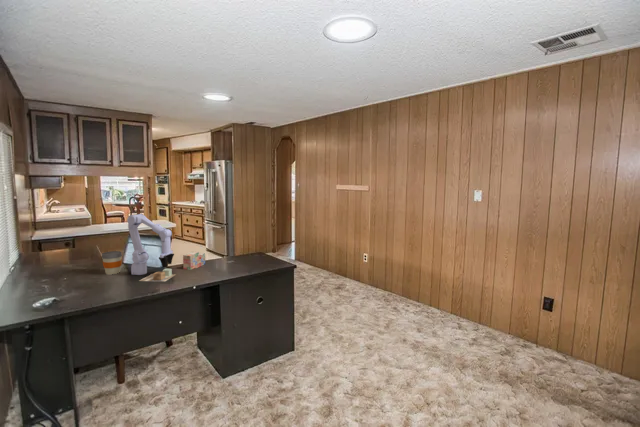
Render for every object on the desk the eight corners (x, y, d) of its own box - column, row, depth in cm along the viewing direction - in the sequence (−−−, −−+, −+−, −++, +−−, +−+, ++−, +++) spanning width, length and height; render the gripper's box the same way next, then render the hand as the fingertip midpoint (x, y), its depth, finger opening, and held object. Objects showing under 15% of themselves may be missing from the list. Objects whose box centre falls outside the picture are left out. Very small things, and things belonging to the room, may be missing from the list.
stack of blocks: (198, 263, 266) (198, 249, 264) (205, 264, 265) (205, 249, 263) (183, 270, 245) (182, 255, 243) (190, 271, 244) (190, 255, 242)
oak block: (153, 280, 217) (153, 273, 217) (157, 277, 222) (157, 271, 222) (161, 280, 217) (161, 274, 217) (165, 278, 222) (164, 271, 222)
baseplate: (138, 282, 216) (138, 280, 216) (151, 275, 232) (151, 273, 232) (165, 282, 216) (165, 281, 216) (176, 275, 232) (176, 274, 232)
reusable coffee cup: (124, 269, 244) (123, 250, 243) (120, 274, 232) (119, 254, 231) (105, 271, 240) (104, 251, 239) (100, 276, 229) (98, 255, 227)
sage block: (162, 276, 227) (162, 270, 226) (165, 274, 231) (165, 268, 230) (168, 276, 226) (168, 270, 226) (171, 274, 231) (171, 268, 230)
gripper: (166, 248, 219) (167, 268, 221) (176, 244, 234) (177, 262, 235) (156, 248, 219) (157, 268, 221) (167, 244, 234) (167, 262, 235)
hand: (167, 265), depth 228 cm, fingers open, 7 cm apart
